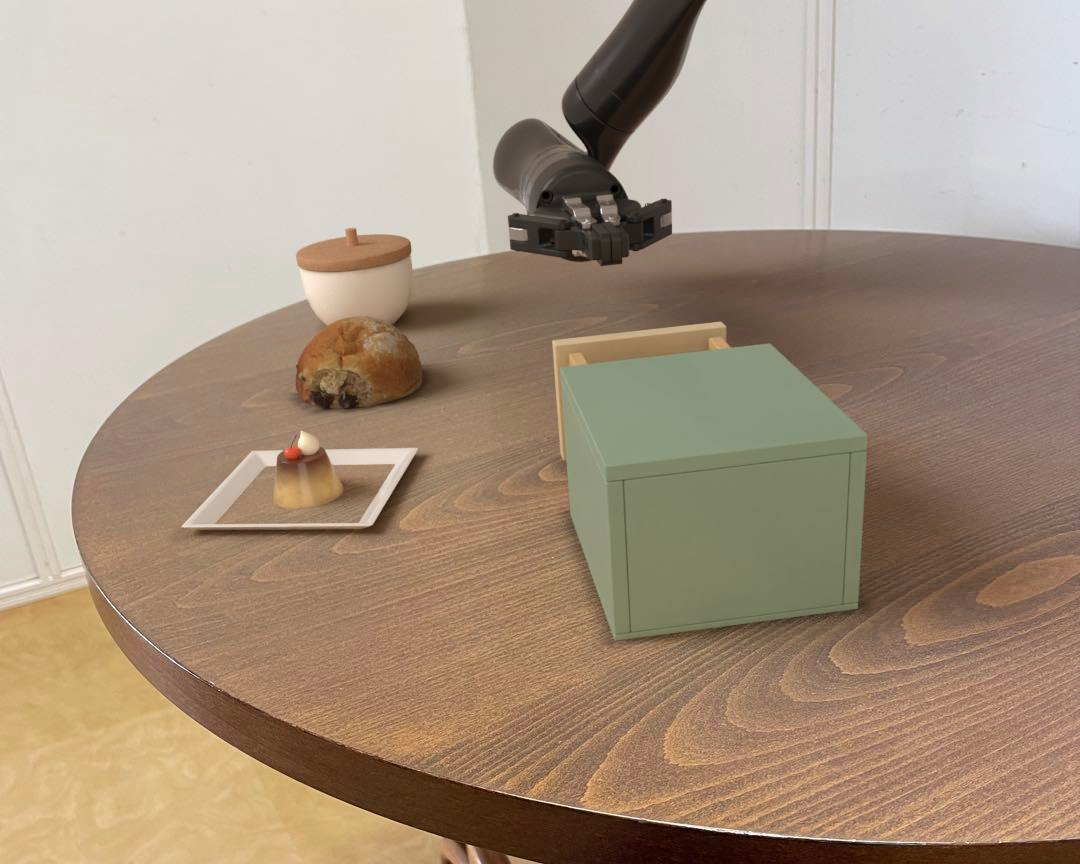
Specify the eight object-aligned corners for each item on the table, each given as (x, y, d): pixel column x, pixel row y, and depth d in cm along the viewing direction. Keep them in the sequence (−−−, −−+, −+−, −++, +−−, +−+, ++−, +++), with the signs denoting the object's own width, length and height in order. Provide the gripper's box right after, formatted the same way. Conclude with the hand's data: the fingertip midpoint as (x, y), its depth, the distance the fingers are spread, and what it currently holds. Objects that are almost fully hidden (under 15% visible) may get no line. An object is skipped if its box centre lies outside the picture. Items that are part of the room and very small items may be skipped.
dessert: (184, 543, 69) (166, 471, 66) (255, 465, 79) (241, 400, 77) (374, 542, 67) (362, 467, 65) (420, 462, 77) (412, 396, 75)
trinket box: (415, 339, 104) (402, 236, 100) (300, 348, 104) (281, 246, 100) (425, 308, 113) (413, 213, 109) (319, 316, 114) (303, 222, 110)
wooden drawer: (551, 432, 78) (543, 322, 75) (706, 414, 79) (704, 304, 75) (594, 545, 62) (586, 412, 59) (786, 521, 63) (789, 389, 60)
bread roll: (437, 436, 91) (459, 338, 90) (334, 419, 84) (357, 313, 83) (364, 411, 98) (384, 320, 97) (263, 394, 90) (283, 295, 89)
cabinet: (570, 520, 67) (559, 366, 63) (768, 496, 68) (770, 342, 64) (615, 649, 54) (604, 466, 50) (858, 617, 55) (868, 434, 51)
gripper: (488, 163, 90) (510, 203, 74) (652, 148, 91) (707, 184, 75) (497, 258, 93) (519, 314, 78) (654, 242, 94) (707, 295, 79)
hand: (611, 250), depth 76 cm, fingers closed
